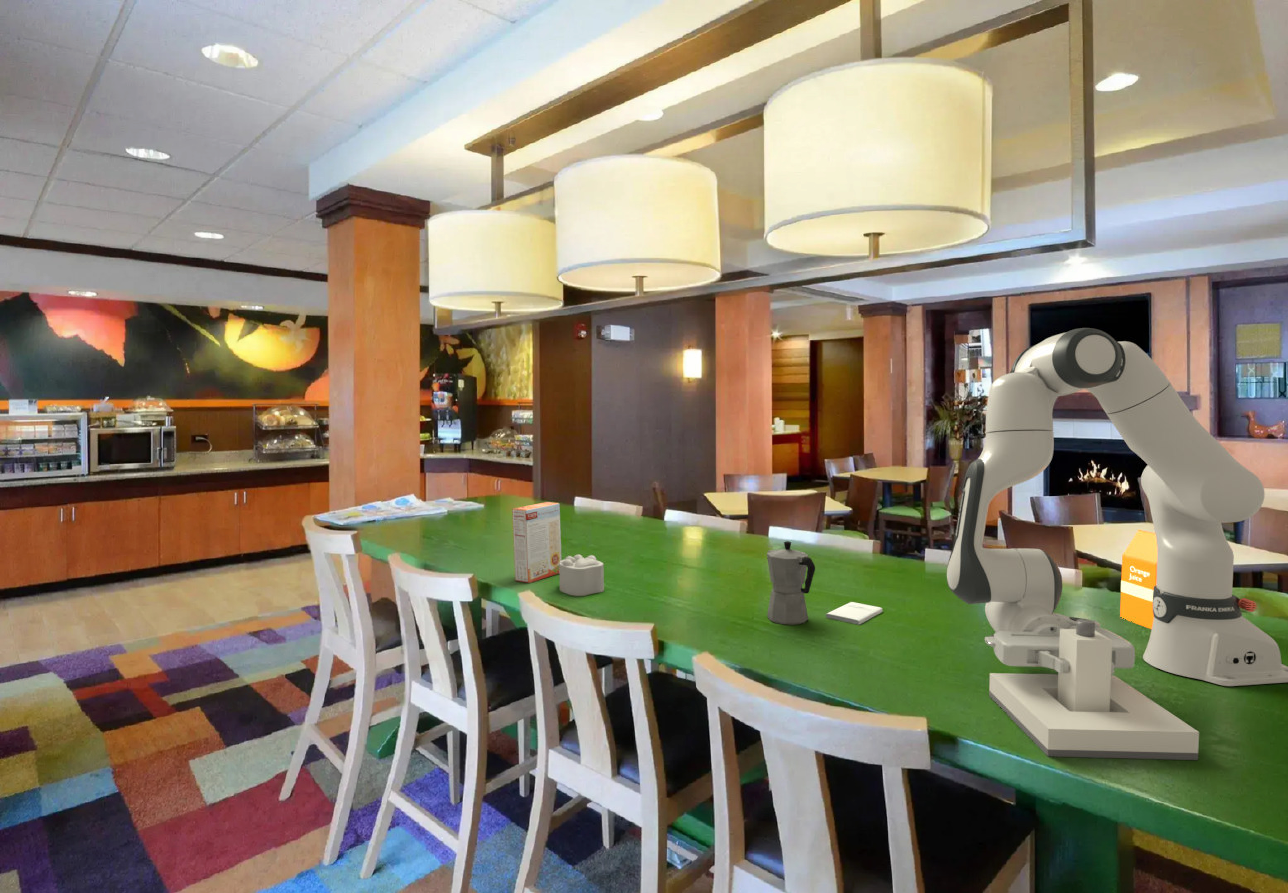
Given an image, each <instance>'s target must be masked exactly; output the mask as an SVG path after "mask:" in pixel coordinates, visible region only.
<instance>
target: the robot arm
mask: <svg viewBox="0 0 1288 893" xmlns="http://www.w3.org/2000/svg"><path fill="white" fill-rule="evenodd" d="M1082 390H1086V391H1088V392H1089V393H1090V394H1092V395H1093V396H1094V397H1095V398H1096V399H1097V402H1098V403H1099V405H1100V407H1101V408H1102V409H1103V411H1104V412H1105V414H1106V415H1107V418H1108V419H1109V420H1110V421H1111V423H1112V425H1113V426H1114V427H1115V429H1116V430H1117V432H1118V433H1119V435H1120V436H1121V438H1122V439H1123V441H1124V442H1125V443H1126V445H1127V447H1128V448H1129V450H1131V451H1132V452H1133V453H1135V454H1136V455H1137V457H1139V458H1141V460H1143V461H1144V462H1145V464H1147V465H1146V466H1145V468H1144V469H1143V471H1142V474H1141V476H1140V477H1141V478H1140V484H1141V488H1142V491H1143V492H1144V494H1145V496H1146V498H1147V500H1148V504H1149V509H1150V510H1149V511H1150V513H1151V519H1152V524H1153V530H1154V533H1155V535H1156V541H1157V579H1156V586H1154V589H1153V604H1152V605H1153V616H1154V619H1153V625H1152V629H1150V630H1151V632H1150V635H1149V639H1148V642H1147V645H1146V649H1145V651H1144V653H1143V655H1142V658H1143V660H1144V661H1145V662H1146V663H1147V664H1148V665H1150V666H1152V667H1154V668H1156V669H1160V670H1162V671H1164V672H1168V673H1170V674H1174V675H1177V676H1182V677H1187V678H1191V679H1197V680H1201V681H1205V682H1208V683H1212V684H1216V685H1220V686H1223V687H1236V686H1237V687H1238V686H1253V685H1265V684H1267V685H1268V684H1269V685H1270V684H1281V683H1288V666H1287V665H1285V664H1282V658H1281V657H1282V656H1281V650H1280V647H1279V645H1278V643H1277V641H1275V640H1274V638H1273V637H1271V636H1270V635H1269V634H1268V633H1266V632H1264V631H1263V630H1261V629H1260V628H1259V627H1258V626H1256V625H1255V624H1253V623H1252V622H1251V621H1250V620H1248V619H1247V618H1245V617H1244V616H1243V613H1242V610H1245V611H1247V612H1250V613H1252V612H1255V611H1256V610H1257V608H1258V604H1257V603H1256V601H1254V600H1251V599H1248V598H1246V597H1245V598H1239V597H1238V596H1237V595H1234V594H1233V580H1234V559H1235V558H1234V556H1235V555H1234V552H1233V548H1232V547H1231V546H1230V543H1229V542H1228V541H1227V537H1226V536H1225V533H1224V528H1223V525H1222V523H1224V524H1225V523H1226V524H1228V523H1238V522H1243V521H1245V520H1249V518H1251V517H1253V516H1254V515H1255V514H1257V513H1258V512H1259V510H1260V509H1261V508H1262V506H1263V503H1264V500H1265V494H1266V492H1265V488H1264V485H1263V483H1262V481H1261V479H1260V478H1259V477H1258V476H1257V475H1256V474H1255V473H1253V472H1252V471H1251V470H1249V469H1247V467H1245V466H1244V465H1242V464H1241V463H1240V462H1238V461H1237V460H1236V458H1235V457H1234V456H1232V454H1231V453H1230V452H1229V451H1228V450H1227V449H1226V448H1225V447H1224V446H1223V445H1222V444H1221V443H1220V442H1219V441H1218V440H1217V439H1216V438H1215V437H1214V436H1213V435H1212V434H1211V433H1210V432H1209V431H1207V429H1205V428H1204V426H1203V425H1202V424H1201V423H1200V422H1199V421H1198V420H1197V419H1196V417H1195V416H1194V415H1193V413H1192V412H1191V411H1190V409H1189V408H1188V406H1187V405H1186V404H1185V402H1184V401H1183V399H1182V398H1181V396H1180V395H1179V393H1178V392H1177V390H1176V388H1174V387H1173V385H1172V383H1171V382H1170V380H1169V379H1168V378H1167V376H1166V375H1165V373H1164V372H1163V371H1162V369H1161V368H1160V367H1159V366H1158V364H1156V363H1155V361H1153V359H1152V358H1151V357H1150V356H1149V355H1148V354H1147V353H1146V352H1145V351H1144V350H1143V349H1142V348H1141V347H1140V346H1138V345H1137V344H1136V343H1134V342H1131V341H1126V340H1124V341H1117V340H1115V339H1114V337H1112V336H1111V335H1110V334H1109V333H1107V332H1105V331H1103V330H1100V329H1097V328H1092V327H1091V328H1090V327H1082V328H1081V327H1080V328H1075V329H1072V330H1071V329H1070V330H1069V331H1067V332H1062V333H1059V334H1055V335H1051V336H1050V337H1047V338H1045V339H1044V340H1042V341H1040V342H1039V343H1037V344H1034V345H1031V346H1029V347H1027V348H1026V349H1025V350H1023V351H1022V352H1020V353H1019V354H1018V356H1017V357H1016V358H1015V359H1014V361H1013V364H1012V365H1011V370H1010V372H1009V373H1006V374H1003V375H1001V376H1000V377H998V378H996V379H995V380H994V381H993V382H992V384H991V385H990V388H989V392H988V396H987V404H986V410H985V411H986V412H985V440H984V446H983V449H982V451H981V454H980V455H979V457H978V458H977V459H976V460H974V461H972V462H971V463H969V466H968V468H967V470H966V472H965V477H964V481H963V485H962V489H961V490H962V491H961V494H960V502H959V506H958V507H959V509H958V514H957V520H956V521H957V522H956V527H955V534H954V539H953V545H952V549H951V551H950V555H949V559H948V562H947V567H946V568H947V569H946V580H947V586H948V588H949V590H950V591H951V592H952V594H954V596H956V597H957V598H958V599H960V600H961V601H963V603H966V604H968V605H979V604H985V606H984V613H985V615H986V619H987V621H988V623H989V625H990V626H991V627H992V629H993V630H994V633H993V634H990V635H989V636H985V637H984V639H983V640H984V643H986V645H988V646H990V647H991V648H993V653H994V655H995V657H996V658H997V659H998V660H999V662H1001V663H1002V664H1004V665H1006V666H1009V667H1029V668H1030V667H1035V668H1036V667H1038V668H1039V667H1040V668H1047V669H1051V670H1054V671H1056V672H1058V673H1069V672H1070V669H1069V668H1070V663H1069V661H1066V659H1064V658H1059V642H1060V629H1076V624H1077V620H1078V619H1083V618H1081V617H1080V618H1079V617H1074V616H1067V615H1065V614H1064V615H1063V614H1060V613H1058V612H1055V610H1056V609H1057V607H1058V606H1059V602H1060V601H1061V597H1062V593H1063V578H1062V572H1061V570H1060V567H1059V566H1058V565H1057V564H1056V562H1055V561H1054V559H1053V558H1052V556H1050V555H1049V554H1048V553H1047V552H1046V551H1045V550H1042V549H1041V548H1021V547H1018V548H1015V547H1014V548H985V547H984V546H983V543H984V542H983V541H984V536H985V531H986V524H987V517H988V511H989V506H990V503H991V502H992V500H993V499H994V497H995V496H997V495H998V494H1000V492H1003V491H1005V490H1007V489H1008V488H1011V487H1014V486H1016V485H1019V484H1022V483H1024V482H1028V481H1030V480H1031V479H1033V478H1035V477H1037V476H1039V475H1040V474H1041V473H1043V471H1045V470H1046V468H1047V467H1048V466H1049V465H1050V463H1051V461H1052V459H1053V456H1054V449H1055V448H1054V447H1055V446H1054V445H1055V441H1054V440H1055V439H1054V438H1055V437H1054V420H1053V409H1054V406H1055V403H1056V402H1057V399H1058V398H1059V397H1062V396H1063V397H1064V396H1070V395H1071V394H1075V393H1077V392H1079V391H1082ZM1241 609H1242V610H1241ZM1084 619H1085V620H1089V619H1087V618H1084ZM1090 620H1091V621H1093V622H1095V631H1097V632H1099V633H1100V634H1102V635H1104V636H1105V637H1107V638H1109V639H1110V640H1112V658H1111V675H1115V674H1114V673H1115V669H1132V668H1133V667H1134V665H1135V661H1136V660H1135V659H1136V650H1135V646H1134V645H1133V643H1132V642H1130V641H1128V640H1127V639H1125V638H1124V637H1122V636H1120V635H1118V634H1117V633H1116V632H1115V633H1114V632H1113V631H1110V630H1108V629H1106V628H1102V627H1101V625H1100V623H1099V622H1098V621H1096V620H1094V619H1090Z"/></svg>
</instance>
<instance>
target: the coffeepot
mask: <svg viewBox="0 0 1288 893" xmlns="http://www.w3.org/2000/svg"><path fill="white" fill-rule="evenodd" d="M783 545H784V549H783V548H782V549H771V550H767V553H766V557H767V565H768V570H769V571H768V572H769V578H770V582H771V583H772V589H771V593H770V595H769V596H770V597H769V598H770V599H769V602H768V603H769V604H768V608H767V615H766V617H767V618H768V620H770V621H771V622H773V623H775V624H781V625H791V626H793V625H800V624H804V623H806V621H808V620H809V616H808V610H807V606H806V605H807V604H806V598H805V594H809V593H810V589H811V585H812V582H813V578H814V574H815V573H816V572H815V571H816V565H815V563H814V561H813V560H812V558H811V557H809V554H807V553H806V552H804V551H801V550H795V549H791V545H792V542H791V541H789V540H788V541H787V540H786V541H784V542H783ZM803 584H804V588H803Z"/></svg>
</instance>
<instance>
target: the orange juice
mask: <svg viewBox="0 0 1288 893" xmlns="http://www.w3.org/2000/svg"><path fill="white" fill-rule="evenodd" d="M1156 579H1157V541H1156V535H1155V532H1152V531H1151V532H1150V531H1147V530H1141V529H1137V531H1136V533H1135V534H1134V537H1133V538H1132V539H1131V541H1130V543H1129V544H1128V546H1127V547H1126V549H1125V551H1124V552H1123V553H1122V556H1121V580H1120V608H1119V609H1120V610H1119V612H1120V613H1119V614H1120V615H1119V618H1120V617H1122V618H1121V619H1123V618H1124V619H1123V620H1125V619H1126V621H1128V622H1131V621H1132V622H1131V623H1134V624H1136V625H1139V626H1142V627H1144V628H1147V629H1150V630H1152V625H1153V619H1154V616H1153V605H1152V604H1153V589H1154V586H1156Z"/></svg>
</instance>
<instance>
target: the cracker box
mask: <svg viewBox="0 0 1288 893" xmlns="http://www.w3.org/2000/svg"><path fill="white" fill-rule="evenodd" d="M560 508H561V507H560V503H559V502H552V501H551V502H550V501H545V502H541V503H535V504H531V505H525V506H520V507H514V508H512V509H511V510H512V511H511V512H512V534H513V536H512V537H513V538H512V539H513V559H514V578H515V581H517V582H522V583H528V584H531V583H533V582H534V583H535V582H537V581H540V580H543V579H546V578H548V577H552V576H555V575H559V562H560V561H561V560H562V540H561V533H562V532H561V512H560V510H561V509H560Z"/></svg>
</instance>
